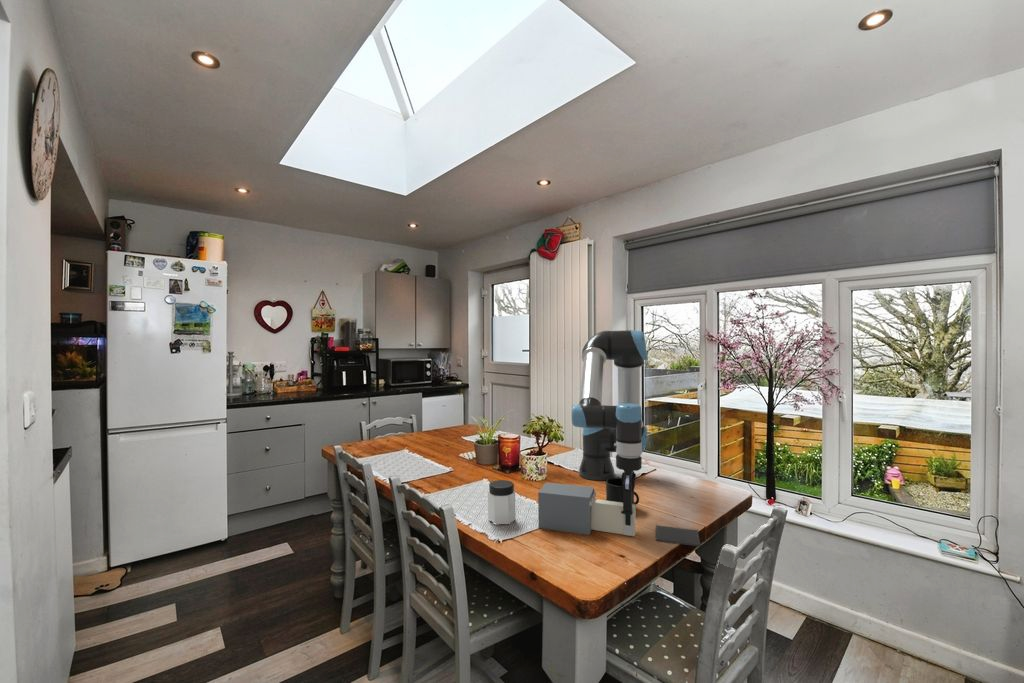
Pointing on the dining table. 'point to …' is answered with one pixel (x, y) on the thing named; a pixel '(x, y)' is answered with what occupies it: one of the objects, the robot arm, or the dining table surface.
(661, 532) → the mat
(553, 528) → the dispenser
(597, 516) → the cream upright slab
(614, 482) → the mug
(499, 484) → the jar
